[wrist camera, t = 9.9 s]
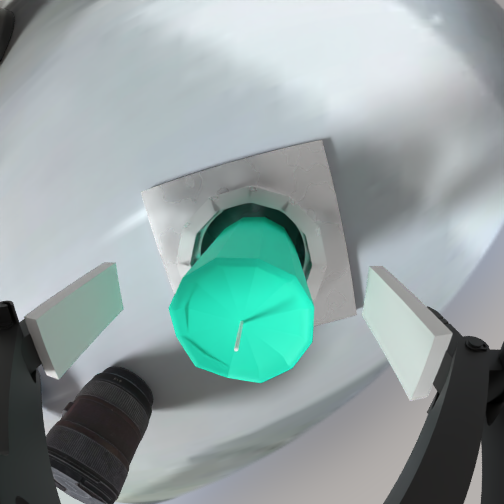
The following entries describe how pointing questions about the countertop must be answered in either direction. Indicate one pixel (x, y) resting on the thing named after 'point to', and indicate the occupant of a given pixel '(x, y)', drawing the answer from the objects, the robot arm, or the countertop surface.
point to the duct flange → (260, 205)
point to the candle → (245, 304)
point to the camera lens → (99, 436)
